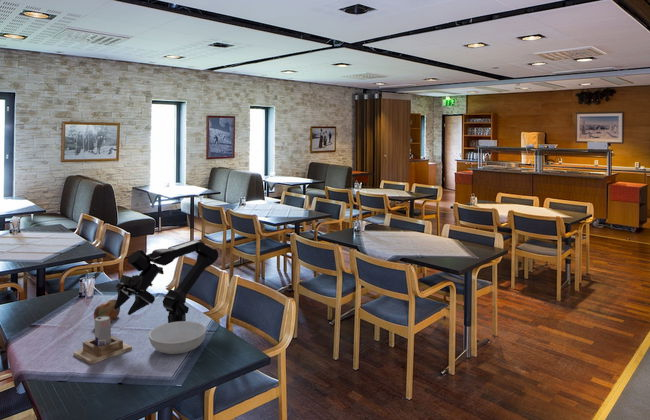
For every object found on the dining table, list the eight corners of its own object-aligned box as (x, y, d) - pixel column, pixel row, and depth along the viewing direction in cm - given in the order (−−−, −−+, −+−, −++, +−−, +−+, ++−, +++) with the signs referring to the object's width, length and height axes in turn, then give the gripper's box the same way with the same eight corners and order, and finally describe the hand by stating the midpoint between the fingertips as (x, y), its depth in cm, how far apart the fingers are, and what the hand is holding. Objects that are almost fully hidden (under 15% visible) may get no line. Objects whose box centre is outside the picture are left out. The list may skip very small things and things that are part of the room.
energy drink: (102, 345, 185) (100, 314, 183) (114, 346, 184) (113, 316, 182) (92, 351, 180) (91, 320, 178) (105, 352, 179) (103, 321, 177)
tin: (99, 327, 205) (98, 308, 204) (92, 327, 205) (91, 307, 204) (121, 315, 219) (120, 297, 218) (114, 314, 220) (114, 296, 219)
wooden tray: (114, 341, 192) (114, 331, 191) (132, 349, 185) (131, 338, 184) (73, 355, 179) (73, 344, 178) (90, 364, 172) (90, 353, 171)
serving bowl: (147, 341, 192) (147, 325, 191) (201, 334, 200) (201, 318, 199) (151, 364, 173) (150, 346, 172) (210, 355, 181) (210, 337, 180)
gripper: (119, 262, 193) (93, 296, 186) (146, 270, 182) (120, 306, 175) (137, 277, 201) (113, 310, 194) (165, 286, 190) (141, 321, 183)
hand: (121, 311), depth 186 cm, fingers open, 9 cm apart
